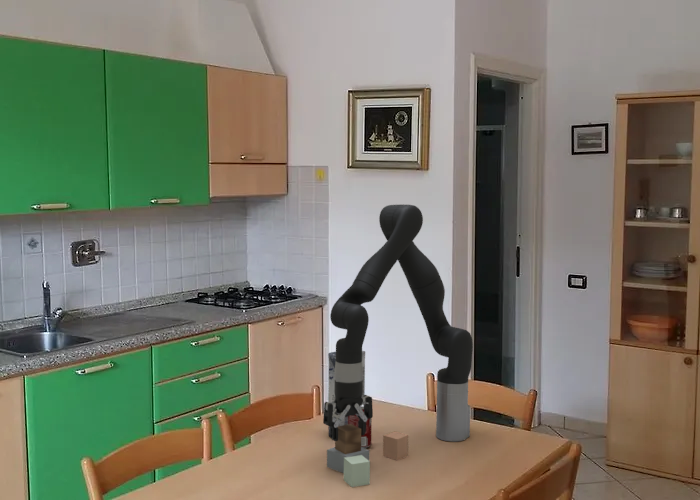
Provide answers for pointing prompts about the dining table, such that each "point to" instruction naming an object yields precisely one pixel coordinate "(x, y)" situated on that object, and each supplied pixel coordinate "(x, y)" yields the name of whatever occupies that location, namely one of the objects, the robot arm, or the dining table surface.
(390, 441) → the tan block
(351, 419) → the soda can
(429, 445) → the dining table surface
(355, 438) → the walnut block
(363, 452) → the grey base block
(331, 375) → the juice carton
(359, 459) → the pale green block
